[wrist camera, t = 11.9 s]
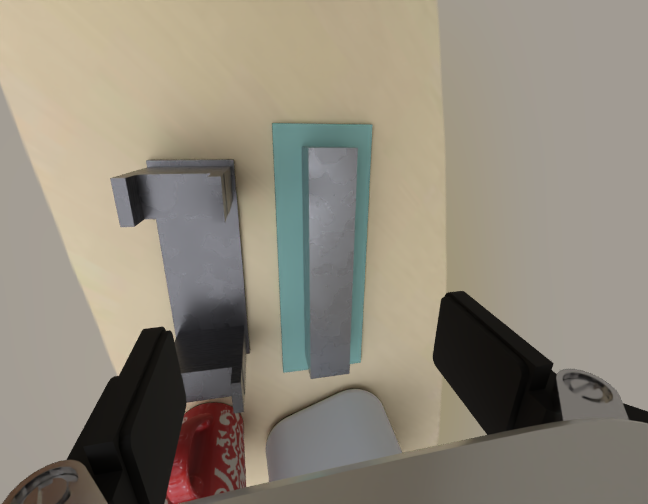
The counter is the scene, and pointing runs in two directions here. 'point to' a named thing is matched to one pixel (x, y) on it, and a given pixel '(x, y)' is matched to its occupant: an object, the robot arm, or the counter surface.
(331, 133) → the mat
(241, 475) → the mug
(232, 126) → the counter surface
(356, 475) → the robot arm
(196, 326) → the brackets
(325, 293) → the rail
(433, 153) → the counter surface
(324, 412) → the plastic bottle
